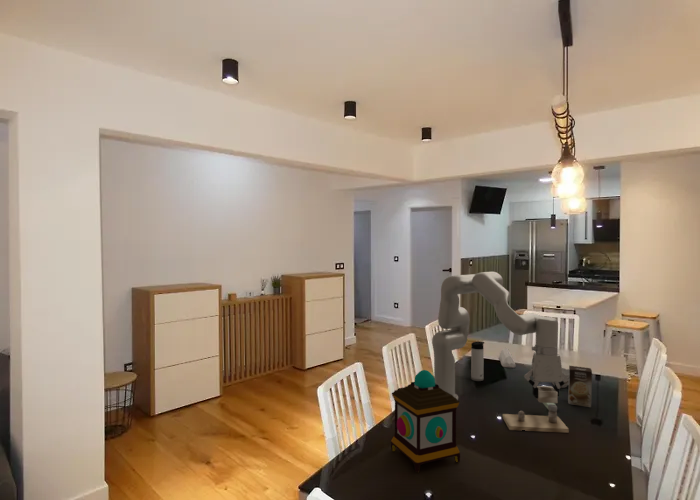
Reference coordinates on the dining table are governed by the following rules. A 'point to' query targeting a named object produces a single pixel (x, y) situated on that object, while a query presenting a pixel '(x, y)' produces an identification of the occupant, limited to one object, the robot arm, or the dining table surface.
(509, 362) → the crystal
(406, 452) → the decorative lantern
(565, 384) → the teacup
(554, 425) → the pintle board
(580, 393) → the coffee box
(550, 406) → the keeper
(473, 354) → the travel mug
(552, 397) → the collar
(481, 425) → the dining table surface
